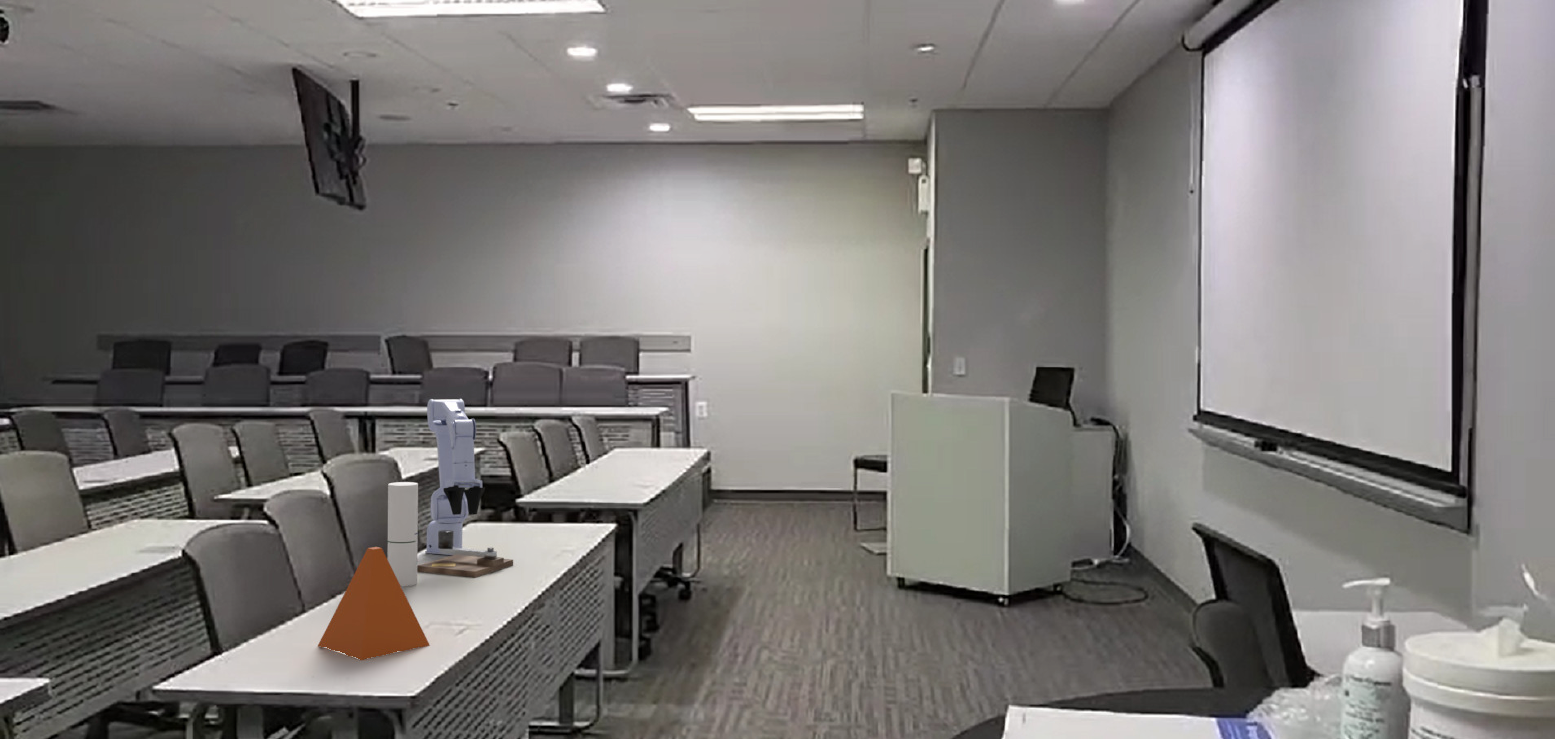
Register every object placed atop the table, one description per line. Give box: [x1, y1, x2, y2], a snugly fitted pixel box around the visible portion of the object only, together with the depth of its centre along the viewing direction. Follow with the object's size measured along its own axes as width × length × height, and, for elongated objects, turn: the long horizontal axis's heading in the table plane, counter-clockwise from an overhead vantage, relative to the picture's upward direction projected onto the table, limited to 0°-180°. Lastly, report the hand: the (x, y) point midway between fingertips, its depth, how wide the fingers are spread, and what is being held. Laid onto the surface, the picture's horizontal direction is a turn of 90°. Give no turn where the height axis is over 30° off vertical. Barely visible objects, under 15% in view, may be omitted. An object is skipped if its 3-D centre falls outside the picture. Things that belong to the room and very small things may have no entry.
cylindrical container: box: [387, 481, 419, 587], centre depth 311 cm, size 7×7×25 cm
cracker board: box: [417, 555, 514, 578], centre depth 332 cm, size 18×18×3 cm
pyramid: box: [317, 546, 431, 661], centre depth 251 cm, size 16×16×20 cm
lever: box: [438, 530, 498, 558], centre depth 333 cm, size 18×4×6 cm, turn 70°
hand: (465, 514), depth 333 cm, fingers open, 7 cm apart
